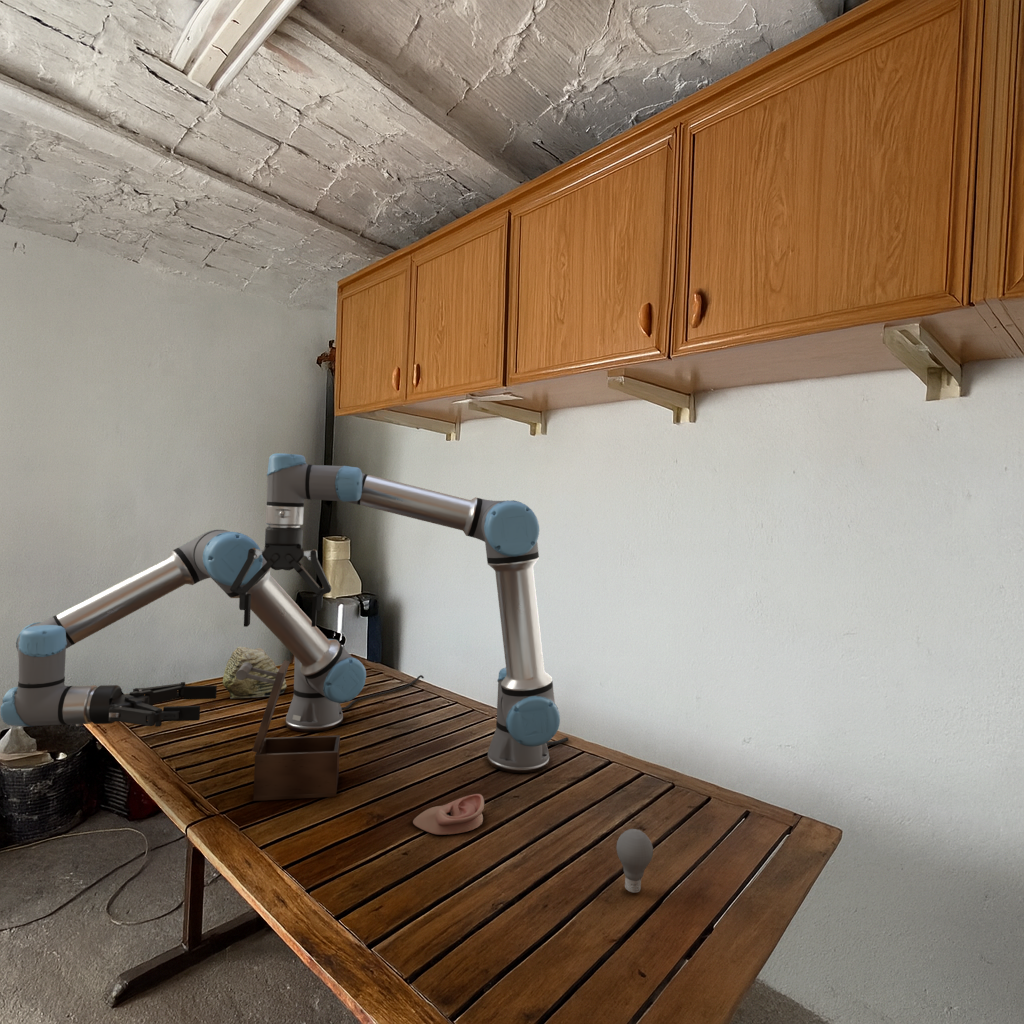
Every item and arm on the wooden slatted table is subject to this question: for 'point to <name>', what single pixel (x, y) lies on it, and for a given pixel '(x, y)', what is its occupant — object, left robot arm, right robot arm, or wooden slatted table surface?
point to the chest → (297, 768)
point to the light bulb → (634, 857)
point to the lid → (273, 698)
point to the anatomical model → (452, 816)
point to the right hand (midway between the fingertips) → (280, 625)
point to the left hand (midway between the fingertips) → (208, 702)
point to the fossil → (247, 685)
